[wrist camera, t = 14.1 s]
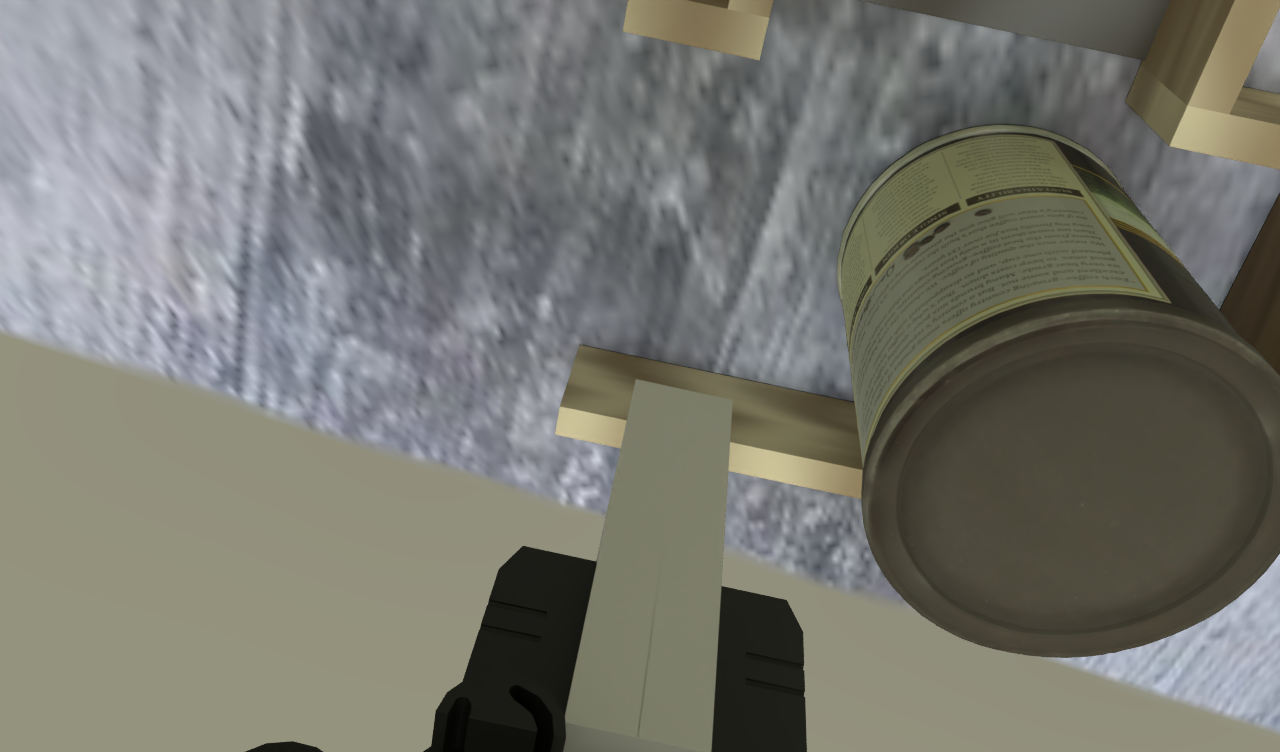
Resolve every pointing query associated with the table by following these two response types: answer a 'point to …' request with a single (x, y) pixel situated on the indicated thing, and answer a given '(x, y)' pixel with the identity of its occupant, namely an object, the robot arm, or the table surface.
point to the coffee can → (1049, 404)
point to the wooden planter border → (1019, 3)
